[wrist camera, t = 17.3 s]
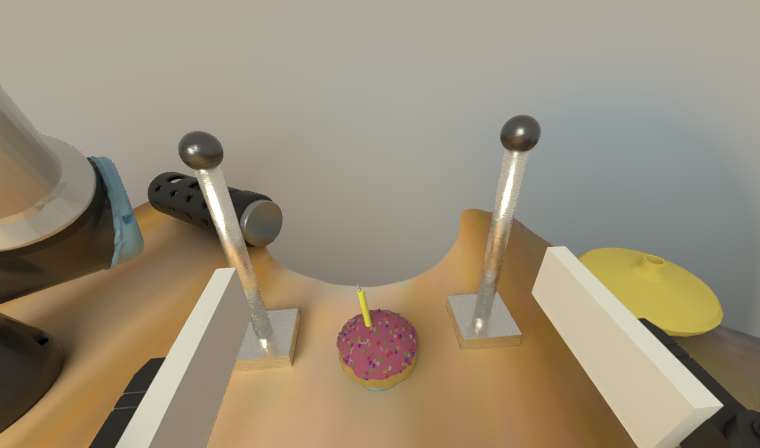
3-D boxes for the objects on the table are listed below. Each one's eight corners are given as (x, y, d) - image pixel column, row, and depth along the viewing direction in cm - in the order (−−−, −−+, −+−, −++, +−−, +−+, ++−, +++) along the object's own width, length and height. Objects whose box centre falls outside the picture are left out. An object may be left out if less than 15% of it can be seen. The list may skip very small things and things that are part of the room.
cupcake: (325, 382, 33) (309, 304, 27) (369, 327, 39) (364, 254, 33) (393, 426, 29) (393, 347, 23) (430, 358, 35) (437, 281, 29)
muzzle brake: (201, 206, 70) (184, 164, 65) (290, 237, 58) (279, 188, 53) (159, 226, 63) (137, 180, 58) (251, 265, 51) (233, 212, 46)
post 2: (461, 350, 36) (501, 127, 22) (445, 306, 42) (469, 109, 28) (518, 345, 36) (591, 123, 23) (495, 302, 42) (541, 105, 29)
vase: (623, 256, 50) (641, 219, 47) (742, 330, 37) (780, 288, 34) (543, 275, 47) (556, 238, 43) (645, 365, 34) (675, 322, 30)
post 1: (229, 372, 35) (120, 147, 21) (247, 323, 41) (171, 123, 27) (291, 366, 35) (224, 142, 21) (300, 318, 41) (251, 119, 27)
